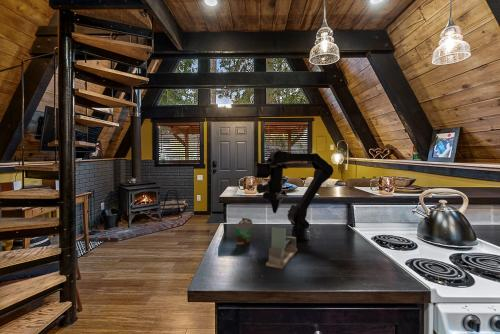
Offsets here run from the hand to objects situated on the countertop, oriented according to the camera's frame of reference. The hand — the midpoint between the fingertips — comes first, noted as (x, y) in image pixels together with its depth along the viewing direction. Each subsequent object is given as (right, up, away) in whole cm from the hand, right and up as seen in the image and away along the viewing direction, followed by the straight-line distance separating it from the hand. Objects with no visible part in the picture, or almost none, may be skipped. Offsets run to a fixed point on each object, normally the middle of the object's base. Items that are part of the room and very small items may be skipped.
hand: (274, 212), depth 123 cm
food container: (-13, -14, -1) cm, 19 cm away
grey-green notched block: (-1, -12, -24) cm, 27 cm away
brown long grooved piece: (+1, -14, -19) cm, 23 cm away
